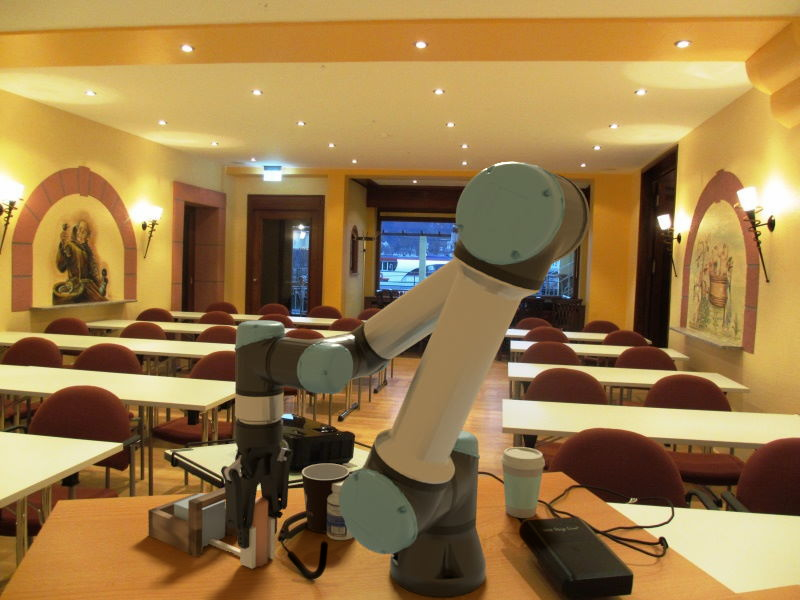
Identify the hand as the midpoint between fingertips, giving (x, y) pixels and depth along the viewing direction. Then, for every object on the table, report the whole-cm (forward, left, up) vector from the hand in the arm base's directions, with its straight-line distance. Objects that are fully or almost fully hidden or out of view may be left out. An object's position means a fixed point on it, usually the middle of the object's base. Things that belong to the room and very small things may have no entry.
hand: (257, 559), depth 103 cm
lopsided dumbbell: (+8, 0, 0) cm, 8 cm away
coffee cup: (-26, -45, -1) cm, 52 cm away
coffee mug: (+1, -18, 0) cm, 18 cm away
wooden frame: (+16, 0, 0) cm, 16 cm away
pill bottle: (-4, -16, -1) cm, 17 cm away
